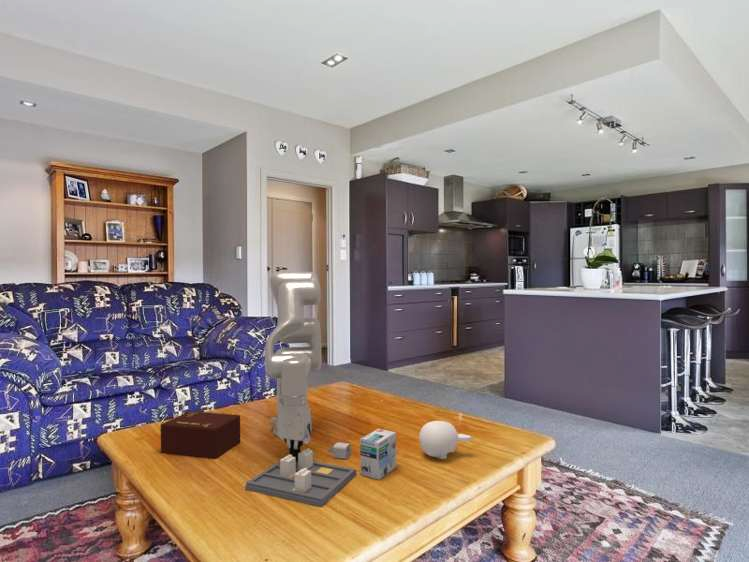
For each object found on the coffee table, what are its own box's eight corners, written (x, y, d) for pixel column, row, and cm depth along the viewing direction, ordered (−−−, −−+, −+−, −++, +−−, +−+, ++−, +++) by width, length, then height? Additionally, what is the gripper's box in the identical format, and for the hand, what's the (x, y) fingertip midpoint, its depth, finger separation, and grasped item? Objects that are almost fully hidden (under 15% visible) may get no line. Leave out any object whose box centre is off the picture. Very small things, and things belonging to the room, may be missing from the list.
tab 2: (298, 468, 133) (298, 451, 132) (304, 463, 136) (304, 447, 136) (306, 470, 131) (306, 453, 131) (313, 465, 134) (312, 448, 134)
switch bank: (245, 489, 123) (245, 482, 123) (287, 461, 141) (287, 455, 141) (321, 507, 113) (321, 500, 113) (356, 474, 131) (356, 468, 131)
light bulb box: (379, 480, 127) (378, 442, 127) (359, 475, 131) (359, 438, 131) (397, 467, 136) (397, 431, 136) (378, 462, 140) (378, 427, 140)
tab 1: (280, 475, 128) (279, 457, 128) (287, 470, 131) (286, 453, 131) (288, 477, 127) (288, 459, 127) (295, 472, 130) (295, 455, 130)
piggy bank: (429, 470, 138) (465, 462, 146) (438, 436, 135) (475, 431, 143) (407, 445, 148) (442, 440, 156) (415, 414, 145) (451, 410, 153)
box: (243, 441, 159) (242, 413, 159) (215, 459, 143) (215, 428, 143) (192, 436, 164) (191, 409, 164) (160, 454, 148) (159, 423, 148)
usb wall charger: (345, 460, 142) (345, 447, 142) (326, 457, 144) (325, 445, 144) (350, 455, 146) (350, 443, 146) (331, 452, 148) (331, 440, 148)
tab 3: (294, 490, 119) (294, 471, 119) (301, 485, 122) (301, 466, 122) (304, 492, 118) (304, 473, 118) (311, 487, 121) (311, 468, 121)
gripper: (266, 400, 134) (266, 461, 135) (308, 405, 128) (309, 469, 128) (281, 394, 141) (282, 452, 141) (322, 399, 135) (322, 459, 135)
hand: (294, 460), depth 135 cm, fingers closed
